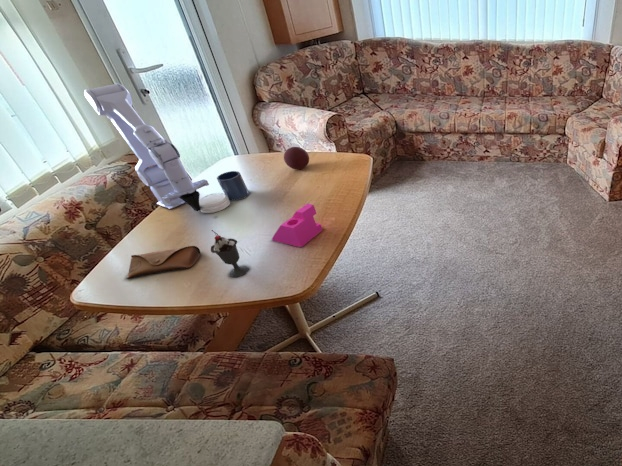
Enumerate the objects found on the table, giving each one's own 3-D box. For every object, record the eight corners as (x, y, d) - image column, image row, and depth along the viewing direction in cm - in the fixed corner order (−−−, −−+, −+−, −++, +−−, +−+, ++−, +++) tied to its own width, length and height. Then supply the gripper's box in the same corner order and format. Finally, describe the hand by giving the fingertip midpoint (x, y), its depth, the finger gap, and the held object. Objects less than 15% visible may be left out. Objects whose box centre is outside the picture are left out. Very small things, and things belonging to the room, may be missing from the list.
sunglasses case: (123, 279, 112) (116, 257, 111) (139, 275, 119) (133, 255, 118) (192, 267, 116) (186, 246, 115) (204, 263, 123) (199, 243, 122)
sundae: (232, 265, 117) (209, 225, 108) (255, 263, 117) (233, 224, 108) (221, 280, 112) (196, 239, 103) (245, 278, 112) (222, 238, 103)
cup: (222, 198, 151) (212, 178, 145) (241, 189, 156) (231, 169, 151) (235, 202, 148) (225, 182, 143) (253, 193, 154) (244, 173, 148)
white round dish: (235, 204, 147) (231, 196, 145) (208, 216, 140) (203, 208, 138) (222, 197, 151) (218, 190, 149) (195, 209, 144) (190, 201, 142)
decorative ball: (316, 167, 171) (309, 147, 165) (293, 175, 166) (285, 154, 160) (306, 161, 177) (299, 141, 171) (284, 168, 171) (276, 148, 165)
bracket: (322, 229, 131) (313, 204, 125) (301, 247, 124) (290, 221, 118) (295, 224, 135) (285, 199, 129) (272, 240, 127) (260, 215, 121)
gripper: (162, 189, 125) (183, 222, 133) (206, 171, 136) (223, 203, 144) (150, 184, 128) (172, 218, 136) (194, 167, 138) (211, 199, 146)
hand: (197, 210), depth 140 cm, fingers closed
